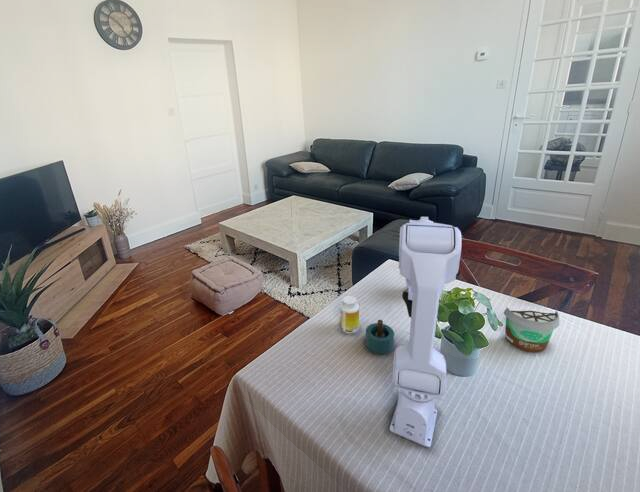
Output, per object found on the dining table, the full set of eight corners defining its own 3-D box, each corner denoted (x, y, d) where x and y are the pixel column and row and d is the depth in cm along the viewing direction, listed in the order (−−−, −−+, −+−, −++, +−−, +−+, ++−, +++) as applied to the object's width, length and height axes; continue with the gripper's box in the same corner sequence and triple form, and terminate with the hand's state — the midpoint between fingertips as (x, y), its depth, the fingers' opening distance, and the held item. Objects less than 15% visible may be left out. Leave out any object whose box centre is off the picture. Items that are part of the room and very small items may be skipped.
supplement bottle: (362, 328, 101) (363, 299, 98) (350, 337, 98) (350, 307, 94) (348, 320, 105) (348, 292, 102) (336, 328, 102) (335, 299, 99)
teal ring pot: (389, 357, 89) (390, 344, 88) (362, 349, 93) (362, 335, 92) (396, 340, 95) (396, 327, 94) (370, 333, 99) (370, 320, 97)
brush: (383, 347, 92) (384, 325, 90) (373, 345, 94) (374, 322, 91) (385, 341, 94) (386, 319, 92) (375, 339, 96) (376, 317, 93)
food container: (507, 353, 88) (513, 321, 84) (498, 337, 93) (504, 306, 90) (562, 358, 85) (571, 325, 81) (550, 341, 90) (558, 310, 86)
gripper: (431, 281, 79) (427, 329, 83) (440, 255, 90) (436, 298, 95) (400, 275, 82) (398, 321, 87) (412, 251, 94) (410, 293, 98)
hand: (416, 309), depth 91 cm, fingers open, 7 cm apart
